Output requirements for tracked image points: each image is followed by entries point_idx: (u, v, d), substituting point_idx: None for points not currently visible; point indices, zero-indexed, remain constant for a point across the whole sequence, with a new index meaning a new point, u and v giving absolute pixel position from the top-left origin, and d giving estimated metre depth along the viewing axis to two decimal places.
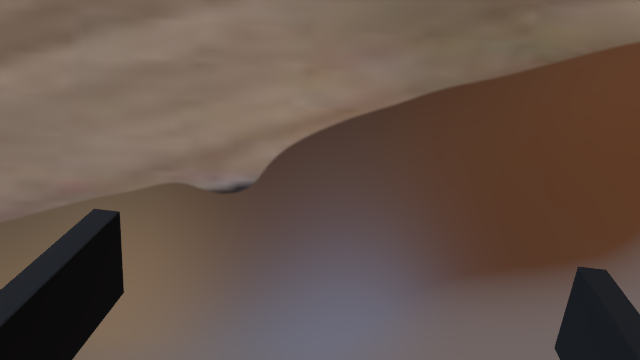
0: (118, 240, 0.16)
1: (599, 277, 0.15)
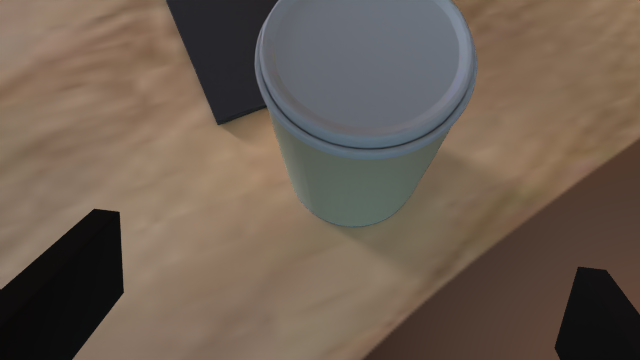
0: (118, 240, 0.16)
1: (599, 277, 0.15)
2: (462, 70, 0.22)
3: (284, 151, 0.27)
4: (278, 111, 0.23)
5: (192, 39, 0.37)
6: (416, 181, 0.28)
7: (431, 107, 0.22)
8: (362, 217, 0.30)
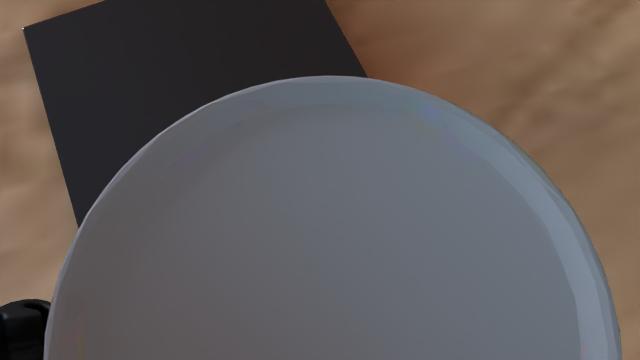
0: None
1: None
2: None
3: None
4: None
5: (69, 139, 0.23)
6: None
7: None
8: None
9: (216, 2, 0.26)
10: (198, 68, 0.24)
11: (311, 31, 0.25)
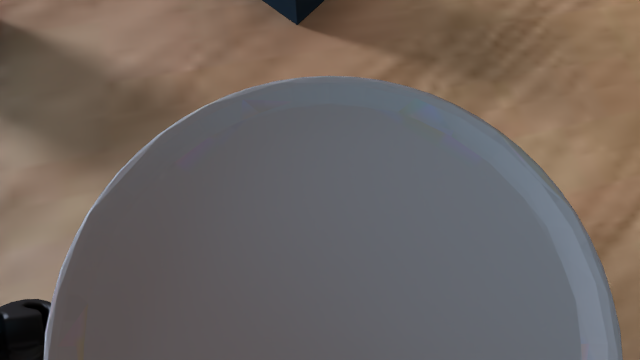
0: None
1: None
2: None
3: None
4: None
5: None
6: None
7: None
8: None
9: None
10: None
11: None
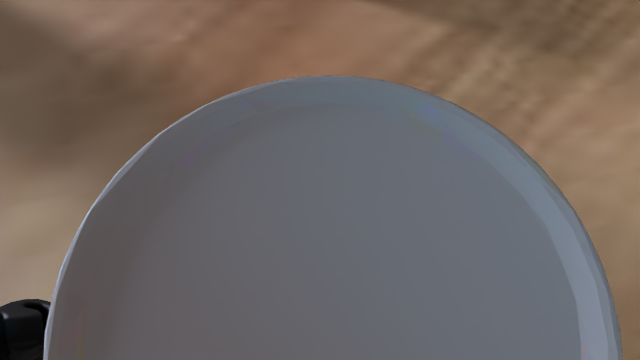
0: None
1: None
2: None
3: None
4: None
5: None
6: None
7: None
8: None
9: None
10: None
11: None
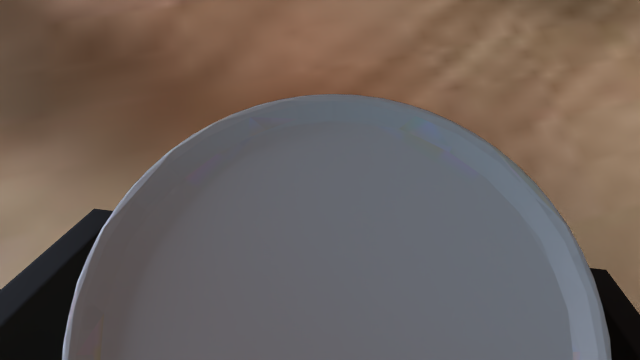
0: None
1: (599, 277, 0.15)
2: None
3: None
4: None
5: None
6: None
7: None
8: None
9: None
10: None
11: None
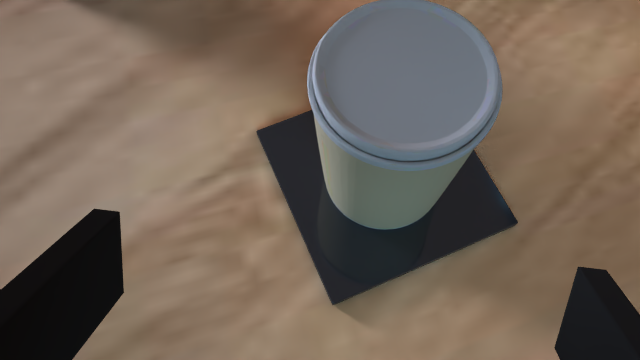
0: (118, 240, 0.16)
1: (599, 277, 0.15)
2: (490, 93, 0.26)
3: (328, 162, 0.30)
4: (330, 128, 0.26)
5: (300, 207, 0.36)
6: (444, 188, 0.32)
7: (464, 125, 0.25)
8: (394, 221, 0.34)
9: None
10: None
11: None
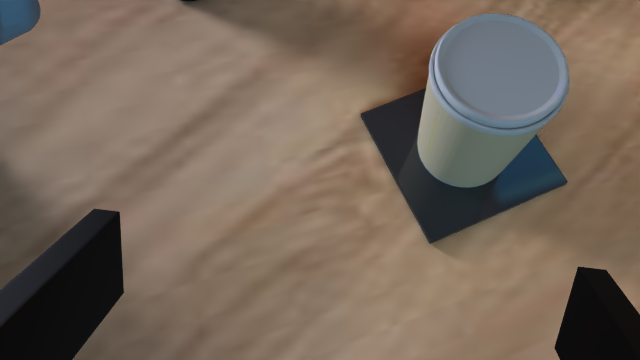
0: (118, 240, 0.16)
1: (599, 277, 0.15)
2: (562, 80, 0.37)
3: (436, 133, 0.41)
4: (449, 106, 0.37)
5: (400, 171, 0.47)
6: None
7: (545, 103, 0.36)
8: (477, 179, 0.45)
9: None
10: None
11: None
